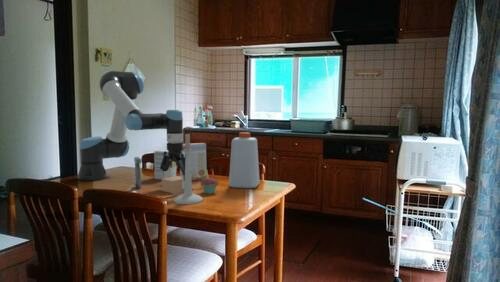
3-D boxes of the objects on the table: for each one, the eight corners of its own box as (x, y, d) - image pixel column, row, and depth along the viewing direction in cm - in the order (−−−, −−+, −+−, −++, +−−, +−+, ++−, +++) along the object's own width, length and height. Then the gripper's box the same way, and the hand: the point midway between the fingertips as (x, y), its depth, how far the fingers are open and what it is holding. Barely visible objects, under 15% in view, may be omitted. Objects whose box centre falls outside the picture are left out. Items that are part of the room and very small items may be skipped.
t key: (136, 190, 177) (136, 159, 176) (134, 186, 186) (133, 156, 185) (142, 190, 178) (141, 159, 177) (139, 186, 187) (138, 156, 186)
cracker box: (203, 178, 214) (203, 142, 212) (206, 180, 208) (206, 143, 206) (179, 180, 208) (179, 143, 206) (182, 182, 202) (181, 144, 200)
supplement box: (169, 182, 204) (169, 151, 202) (154, 181, 205) (153, 151, 204) (176, 178, 213) (176, 149, 211) (161, 177, 215) (161, 149, 213)
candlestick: (200, 196, 172) (199, 132, 170) (204, 203, 160) (204, 134, 157) (172, 198, 169) (171, 132, 166) (174, 205, 157) (173, 134, 154)
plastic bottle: (233, 181, 205) (233, 131, 202) (260, 183, 202) (261, 131, 199) (227, 187, 190) (227, 133, 187) (256, 189, 187) (256, 134, 185)
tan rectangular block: (158, 193, 176) (158, 179, 176) (178, 189, 186) (177, 175, 185) (169, 196, 171) (169, 181, 171) (188, 192, 181) (188, 177, 180)
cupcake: (210, 195, 174) (210, 170, 173) (196, 192, 179) (196, 168, 178) (221, 191, 182) (221, 167, 180) (207, 189, 186) (207, 165, 185)
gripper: (152, 141, 182) (153, 183, 184) (186, 144, 166) (186, 191, 168) (164, 139, 188) (165, 181, 190) (198, 143, 172) (198, 188, 174)
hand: (175, 186), depth 179 cm, fingers open, 13 cm apart
